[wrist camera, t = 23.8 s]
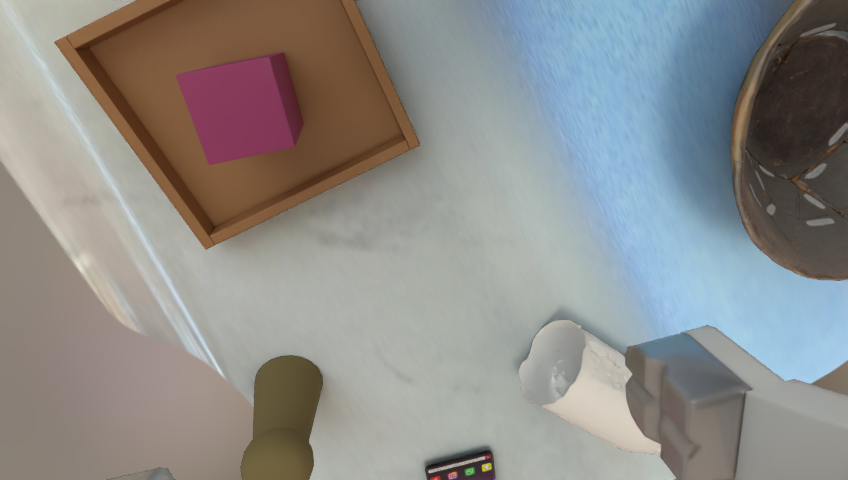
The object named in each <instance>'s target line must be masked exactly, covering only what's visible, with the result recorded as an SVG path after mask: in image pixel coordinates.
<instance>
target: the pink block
mask: <svg viewBox="0 0 848 480" xmlns="http://www.w3.org/2000/svg"><path fill="white" fill-rule="evenodd" d="M176 78H177V80H178V83H179V86H180V88H181V91H182V94H183V96H184V99H185V102H186V105H187V107H188V110H189V113H190V115H191V118H192V121H193V124H194V126H195V129H196V132H197V134H198V137H199V140H200V142H201V145H202V148H203V151H204V153H205V156H206V159H207V161H208V164H209V165H212V164H217V163H221V162H226V161H231V160H236V159H240V158H245V157H250V156H254V155H259V154H264V153H269V152H273V151H278V150H283V149H288V148H292V147H295V145H296V143H297V140H298V137H299V135H300V132H301V129H302V127H303V124H304V123H303V119H302V116H301V112H300V108H299V105H298V101H297V98H296V94H295V90H294V87H293V83H292V80H291V76H290V72H289V69H288V65H287V61H286V58H285V54H284V52H280V53H275V54H270V55H265V56H260V57H255V58H250V59H245V60H240V61H235V62H229V63H224V64H219V65H214V66H210V67H206V68H202V69H198V70H194V71H190V72H186V73H182V74H178V75H176Z"/></svg>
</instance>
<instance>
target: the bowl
mask: <svg viewBox="0 0 848 480" xmlns="http://www.w3.org/2000/svg"><path fill="white" fill-rule="evenodd" d="M829 30H836V31H846V32H848V0H795V1H794V3H793V4H792V5H791V6H790V8H789V9H788V10H787V11H786V13H785V14H784V15H783V16H782V18H781V19H780V20H779V22H778V23H777V24H776V26H775V27H774V29H773V30H772V31H771V33H770V34H769V36H768V37H767V39H766V40H765V42H764V43H763V44H762V46H761V47H760V49H759V50H758V51H757V53H756V54H755V56H754V58H753V60H752V61H751V64H750V66H749V68H748V71H747V73H746V75H745V77H744V80H743V82H742V85H741V88H740V91H739V94H738V97H737V100H736V103H735V108H734V113H733V122H732V131H731V165H732V180H733V189H734V196H735V200H736V203H737V207H738V210H739V213H740V216H741V220H742V223H743V225H744V228H745V230H746V232H747V233H748V235H749V237H750V238H751V240H752V241H753V243H754V244H755V245H756V246H757V247H758V248H759V249H760V250H761V251H762V252H763V253H764V254H766V255H767V256H768V257H769V258H770V259H771V260H772V261H774V262H775V263H777V264H779V265H780V266H782V267H784V268H786V269H788V270H791V271H793V272H794V273H796V274H798V275H801V276H804V277H807V278H812V279H818V280H836V281H840V280H846V279H848V41H847V40H844V39H841V38H839V37H836V36H822V35H815V34H819V33H822V32H825V31H829ZM810 35H811V36H810ZM807 36H809V37H807ZM804 37H807V38H804ZM801 38H804V39H801ZM792 42H793V43H792ZM788 45H789V46H788ZM787 46H788V47H787ZM786 47H787V48H786ZM788 179H789V180H790V181H791V182H790V181H788Z"/></svg>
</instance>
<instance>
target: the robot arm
mask: <svg viewBox="0 0 848 480" xmlns="http://www.w3.org/2000/svg"><path fill="white" fill-rule="evenodd" d="M625 366H626V367H627V368H628V369H629V370H630V372H631V373H632V376H631V377H630V379H629V380H628V382H627V383H626V385H625V388H626V401H627V404H628V407H629V410H630V414H631V416H632V418H633V420H634V421H635V423H636V425H637V427H638V428H639V429H640V431H641V432H642V433H643V435H644V436H645V437H646V438H648V439H650V440H652V441H654V442H657V443H659V444H661V459H662V460H663V461H664V462H665V464H666V465H667V466H668V468H669V469H670V470H671V471H672V473H673V474H674V475H675V477H676V478H677V479H678V480H726V479H730V478H734V477H735V480H848V396H846V395H843V394H840V393H837V392H833V391H830V390H827V389H824V388H821V387H817V386H814V385H811V384H808V383H805V382H802V381H798V380H795V379H793V380H789V381H784V380H783V379H782V378H780V377H779V376H778V375H776V374H775V373H774V372H773V371H771V370H770V369H769V368H767V367H766V366H765V365H763V364H762V363H761V362H760V361H758V360H757V359H756V358H754V357H753V356H752V355H750V354H749V353H748V352H747V351H745V350H744V349H743V348H741V347H740V346H739V345H737V344H736V343H735V342H734V341H732V340H731V339H730V338H728V337H727V336H726V335H724V334H723V333H722V332H721V331H719V330H718V329H717V328H715V327H712V326H708V325H706V326H703V327H699V328H695V329H692V330H688V331H684V332H681V333H680V334H675V335H671V336H667V337H664V338H660V339H656V340H652V341H649V342H645V343H641V344H637V345H633V346H630V347H628V348H627V351H626V353H625ZM107 480H175V479H174V477H173V476H172V474H171V473H170V471H169V469H168V468H160V467H159V468H155V469H151V470H146V471H142V472H138V473H133V474H129V475H125V476H120V477H116V478H112V479H107Z"/></svg>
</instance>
